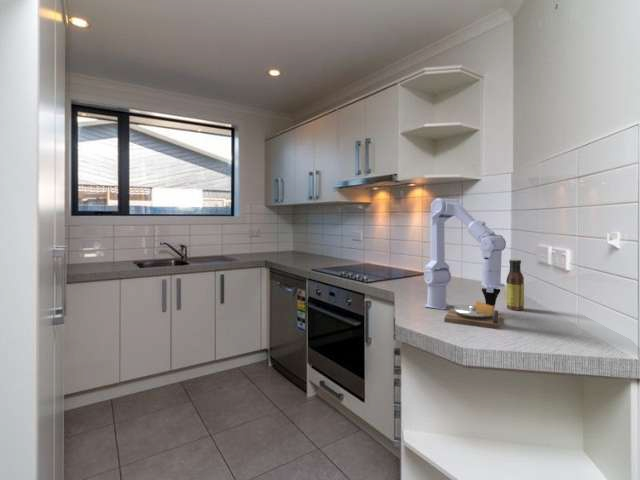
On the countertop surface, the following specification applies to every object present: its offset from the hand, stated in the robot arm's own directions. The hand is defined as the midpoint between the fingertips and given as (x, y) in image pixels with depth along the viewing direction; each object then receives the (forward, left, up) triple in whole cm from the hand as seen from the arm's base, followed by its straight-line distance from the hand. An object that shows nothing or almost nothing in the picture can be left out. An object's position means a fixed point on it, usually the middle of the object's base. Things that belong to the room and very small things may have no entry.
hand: (490, 309), depth 121 cm
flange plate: (-2, -5, -2) cm, 6 cm away
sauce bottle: (-27, +8, -5) cm, 28 cm away
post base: (-2, -5, -5) cm, 7 cm away
